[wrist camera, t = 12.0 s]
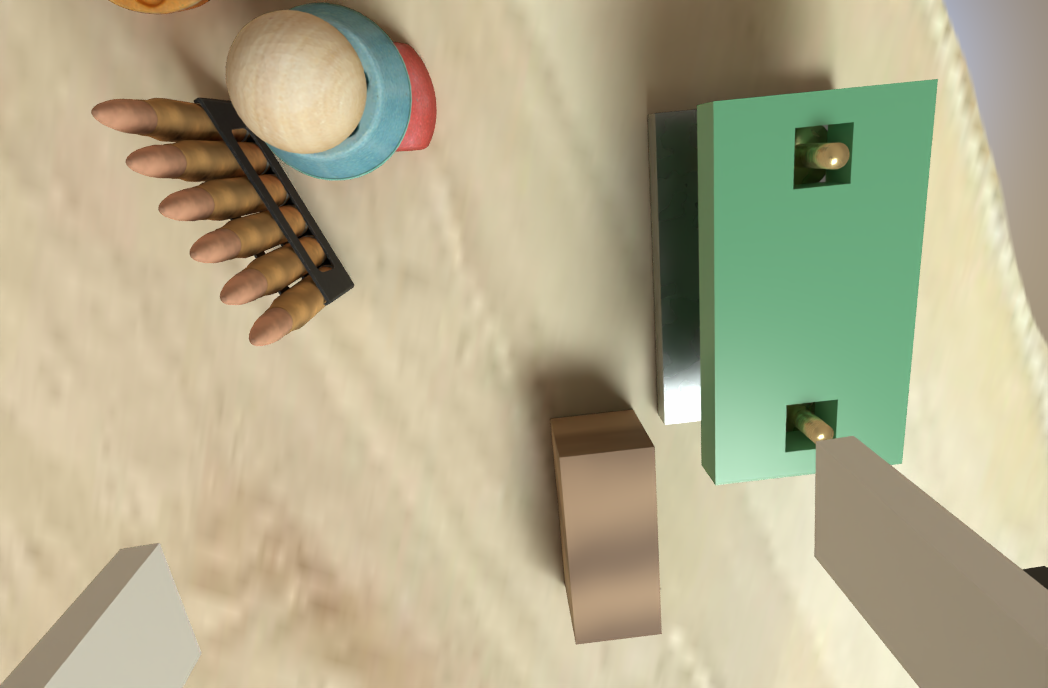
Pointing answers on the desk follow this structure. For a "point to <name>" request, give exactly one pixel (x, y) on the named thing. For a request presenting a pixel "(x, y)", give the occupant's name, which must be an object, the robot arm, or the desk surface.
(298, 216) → the ammunition clip
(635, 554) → the stand
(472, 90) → the desk surface
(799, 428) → the chassis
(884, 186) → the board
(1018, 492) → the desk surface
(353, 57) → the colourful wooden toy set
